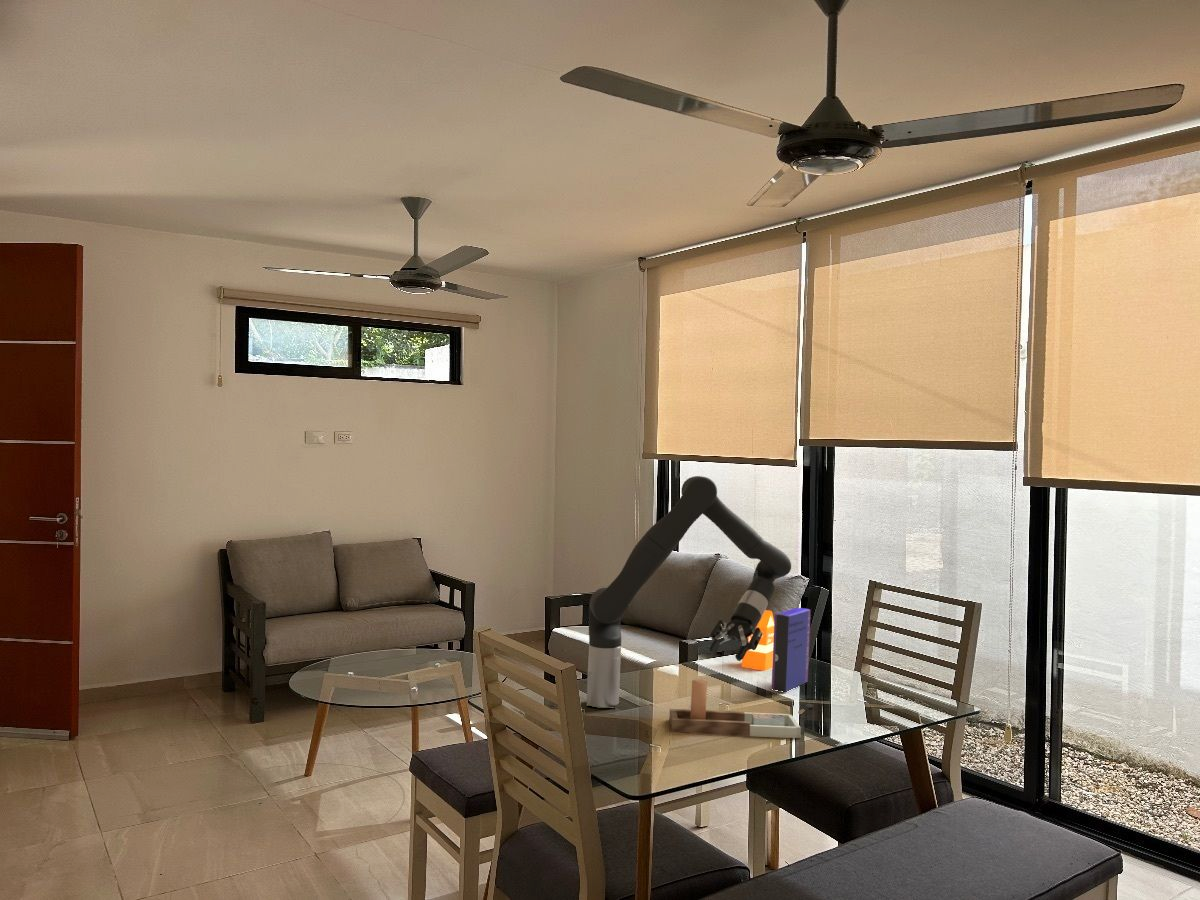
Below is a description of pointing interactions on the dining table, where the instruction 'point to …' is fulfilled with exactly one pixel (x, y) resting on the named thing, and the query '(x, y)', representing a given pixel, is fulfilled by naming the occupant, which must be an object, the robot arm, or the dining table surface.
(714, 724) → the slot board
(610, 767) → the dining table surface
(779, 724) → the gray cube
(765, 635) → the orange juice
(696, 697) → the orange rounded cylinder
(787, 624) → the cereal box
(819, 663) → the dining table surface
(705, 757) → the dining table surface
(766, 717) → the light grey cube
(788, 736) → the tray
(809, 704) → the tomahawk
